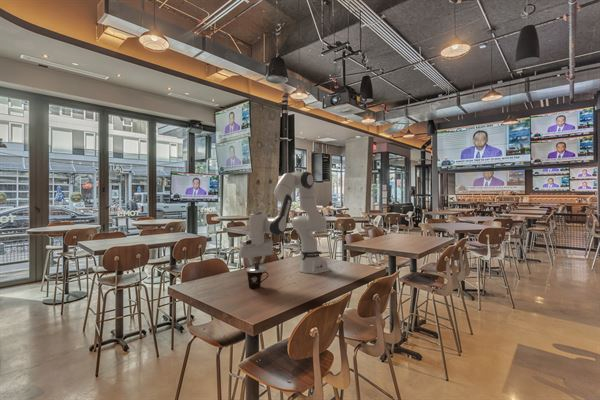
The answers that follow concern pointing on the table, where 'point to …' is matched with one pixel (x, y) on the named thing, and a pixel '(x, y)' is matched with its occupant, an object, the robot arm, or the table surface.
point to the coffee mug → (255, 279)
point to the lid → (256, 268)
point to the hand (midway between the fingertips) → (256, 264)
